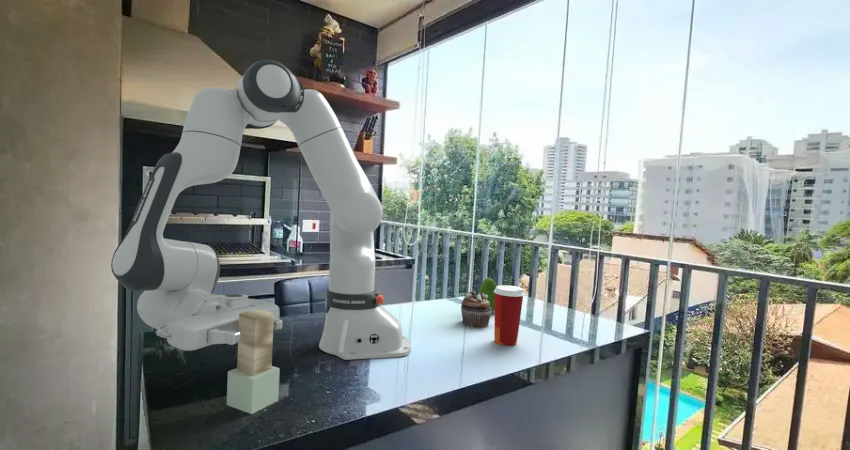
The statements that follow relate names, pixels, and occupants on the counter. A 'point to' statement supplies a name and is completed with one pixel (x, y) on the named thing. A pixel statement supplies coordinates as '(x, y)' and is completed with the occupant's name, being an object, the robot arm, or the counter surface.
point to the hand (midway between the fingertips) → (259, 331)
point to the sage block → (252, 389)
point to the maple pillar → (255, 341)
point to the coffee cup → (507, 314)
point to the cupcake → (476, 310)
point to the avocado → (489, 291)
